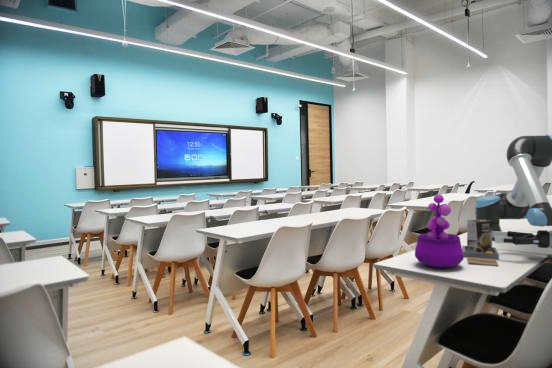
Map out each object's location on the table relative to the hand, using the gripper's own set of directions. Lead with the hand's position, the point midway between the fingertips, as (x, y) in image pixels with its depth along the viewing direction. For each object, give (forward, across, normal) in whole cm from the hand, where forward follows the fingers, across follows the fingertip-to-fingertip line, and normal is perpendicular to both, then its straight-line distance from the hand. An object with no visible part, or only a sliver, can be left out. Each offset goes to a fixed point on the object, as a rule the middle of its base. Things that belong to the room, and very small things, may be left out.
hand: (492, 236), depth 180 cm
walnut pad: (+5, -13, -9) cm, 17 cm away
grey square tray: (+5, +1, -9) cm, 10 cm away
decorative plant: (+22, -25, -9) cm, 35 cm away
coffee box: (+5, +1, -9) cm, 11 cm away
